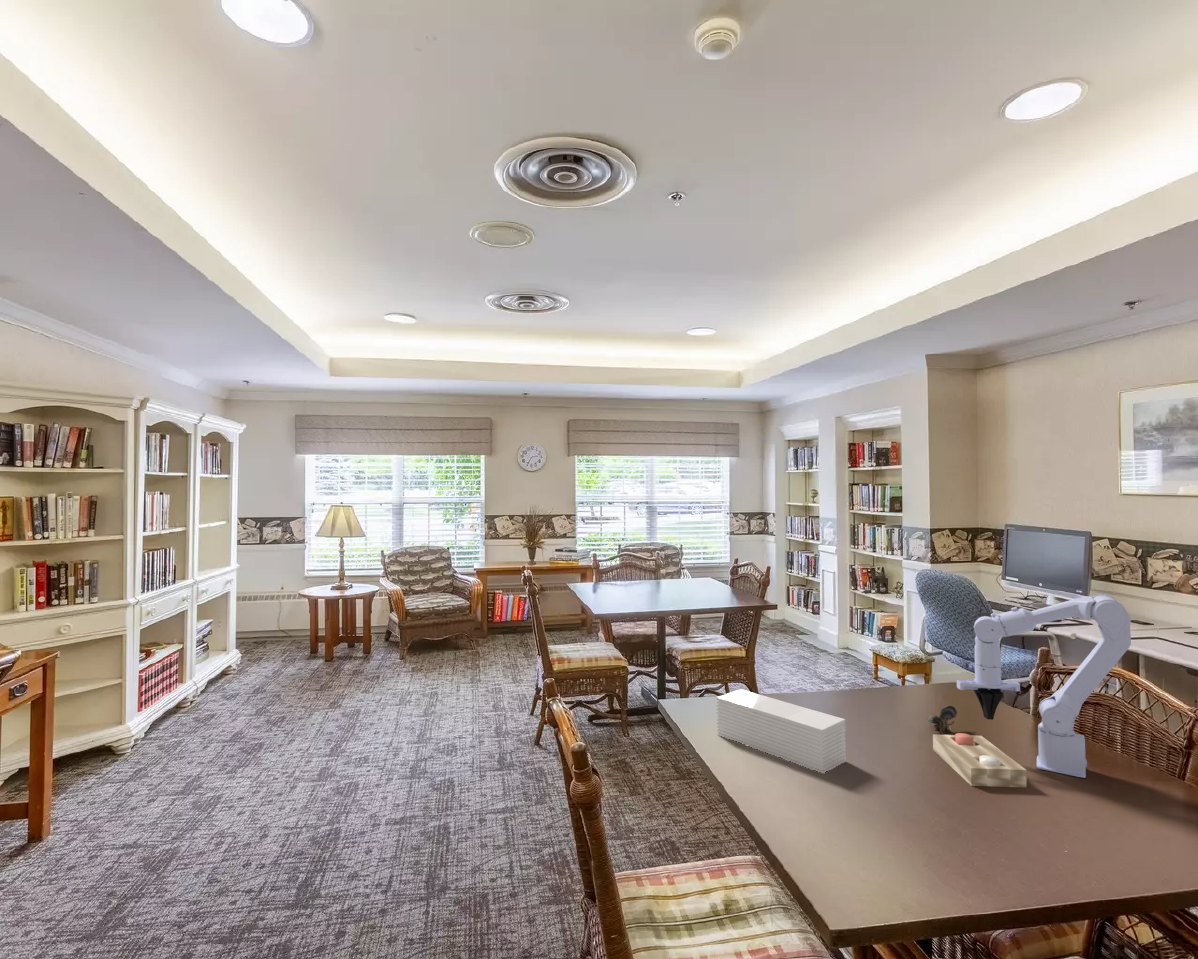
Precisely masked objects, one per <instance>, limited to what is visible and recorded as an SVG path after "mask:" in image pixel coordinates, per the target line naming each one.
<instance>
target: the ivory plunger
mask: <svg viewBox="0 0 1198 959" xmlns="http://www.w3.org/2000/svg"><path fill="white" fill-rule="evenodd" d="M979 762H980V763H981V764H982V765H983V766H999V759H997V758H995V757H992V756H986V755H982V756H980V757H979Z"/></svg>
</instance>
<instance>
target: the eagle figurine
mask: <svg viewBox="0 0 1198 959" xmlns="http://www.w3.org/2000/svg"><path fill="white" fill-rule="evenodd" d="M940 710H941V711H940V714H939V716H938V715H937V714H933V715H930V716H928V719H927V720H928V723H930V724H936V725H935V727H936V728H938V729H939V733H938V735H942V733H944V731H945V729H947V730H948V731H950V732H951V733H953V730H952V727H951V725H954V723H955V720H953V721H951V722H949V721H950V720H952V719H955V718H957V713H958V711H957V709H956V707H954V706H952V705H948V706H946V707H944V708H942V709H940ZM948 722H949V723H948Z"/></svg>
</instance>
